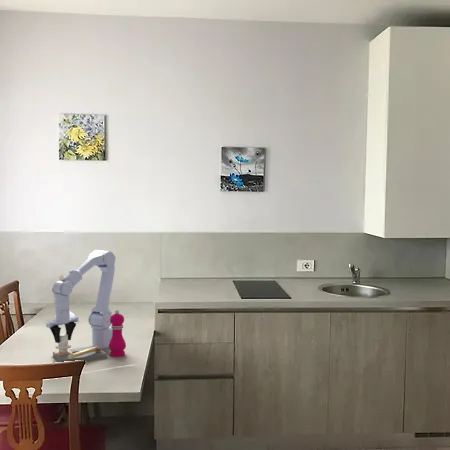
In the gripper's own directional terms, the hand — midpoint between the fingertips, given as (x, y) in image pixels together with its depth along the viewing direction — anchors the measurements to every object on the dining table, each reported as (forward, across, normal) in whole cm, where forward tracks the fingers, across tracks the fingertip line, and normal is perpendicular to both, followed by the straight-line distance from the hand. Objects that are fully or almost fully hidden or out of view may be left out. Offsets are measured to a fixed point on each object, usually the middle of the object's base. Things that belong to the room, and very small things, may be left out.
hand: (63, 341), depth 241 cm
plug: (+5, 0, 0) cm, 5 cm away
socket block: (+7, -4, +5) cm, 10 cm away
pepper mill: (+8, -17, +15) cm, 24 cm away
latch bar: (+4, -3, +12) cm, 13 cm away
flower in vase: (+8, -42, -60) cm, 73 cm away
